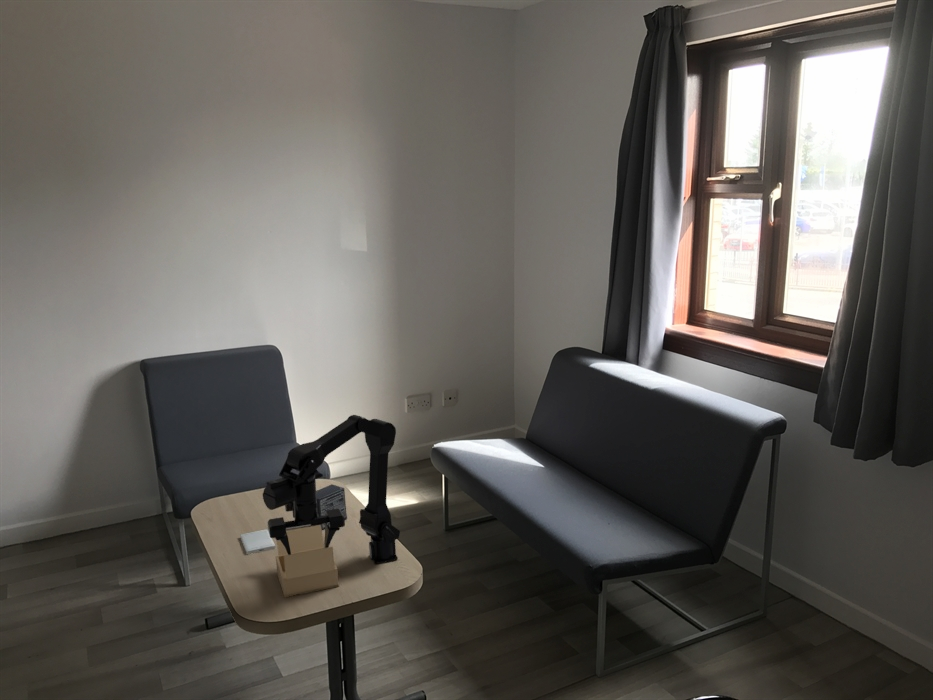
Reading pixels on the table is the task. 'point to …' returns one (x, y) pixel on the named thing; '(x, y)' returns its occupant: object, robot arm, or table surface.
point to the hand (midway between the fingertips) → (308, 553)
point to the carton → (305, 579)
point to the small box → (330, 501)
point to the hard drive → (257, 541)
